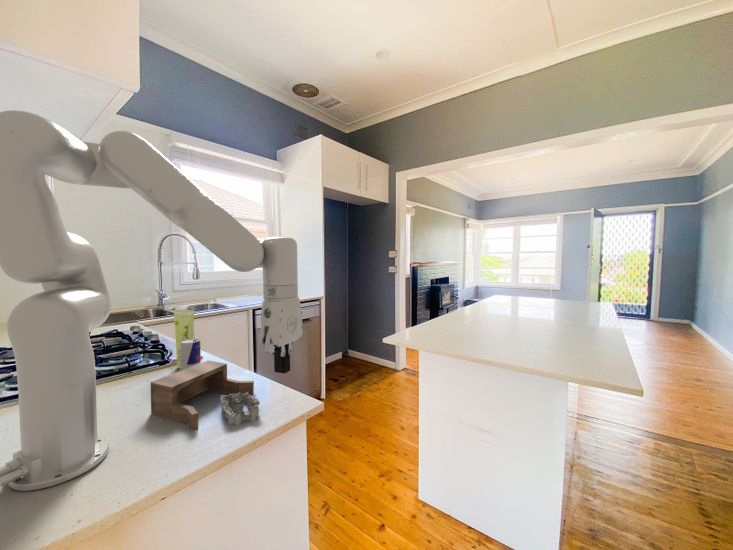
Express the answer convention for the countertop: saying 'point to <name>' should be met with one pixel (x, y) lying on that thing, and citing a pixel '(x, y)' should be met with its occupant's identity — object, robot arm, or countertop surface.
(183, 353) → the energy drink
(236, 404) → the grey holed block
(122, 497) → the countertop surface
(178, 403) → the walnut garage
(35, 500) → the countertop surface
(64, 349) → the robot arm
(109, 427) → the countertop surface
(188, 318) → the tube
